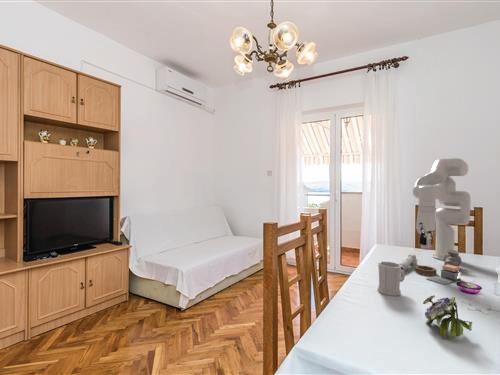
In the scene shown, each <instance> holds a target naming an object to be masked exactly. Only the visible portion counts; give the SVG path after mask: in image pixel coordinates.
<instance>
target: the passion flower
mask: <svg viewBox="0 0 500 375" xmlns="http://www.w3.org/2000/svg"><path fill="white" fill-rule="evenodd" d="M435 297H436V295H430V296H429V297H427V298H426V299H425V300H424V301H423V302H422V304H423V305H426V304H428V303H431V304H430V306H429V307H427V308H426V312H424V316H425V319H426V321H425V325H428V326H429V325H430V326H431V325H432V324H433V322H434V321H435V320H436V325H438V326H439V334H440V336H441V338H443V339H444V340H446V336H447V334H448V333H449V336H450V339H451V340H452V339H455V338H456V337H458V338H459V337H460V336H462V335H464V328H465V329H467V330H468V331H472V325H473V322H472V321H468V320H463V319H460V318H459V314H458V313H459V312H458V305H457V302H456V297H455V296H452V297H451V298H449V297H443V298H440V299H439V298H438V299H437V301H435V302H433V299H434V298H435ZM446 316H447V317H446ZM449 326H450V329H449Z"/></svg>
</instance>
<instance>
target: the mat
mask: <svg viewBox="0 0 500 375" xmlns="http://www.w3.org/2000/svg"><path fill="white" fill-rule="evenodd" d="M426 281H430V282H434V283H437V284H441V285H444V286H445V285H446V286H447V285H448V284H452V283H455V282H454V281H452V280H448V279H445V278H441V276H437V275H434V276H429V277H427V278H426Z"/></svg>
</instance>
